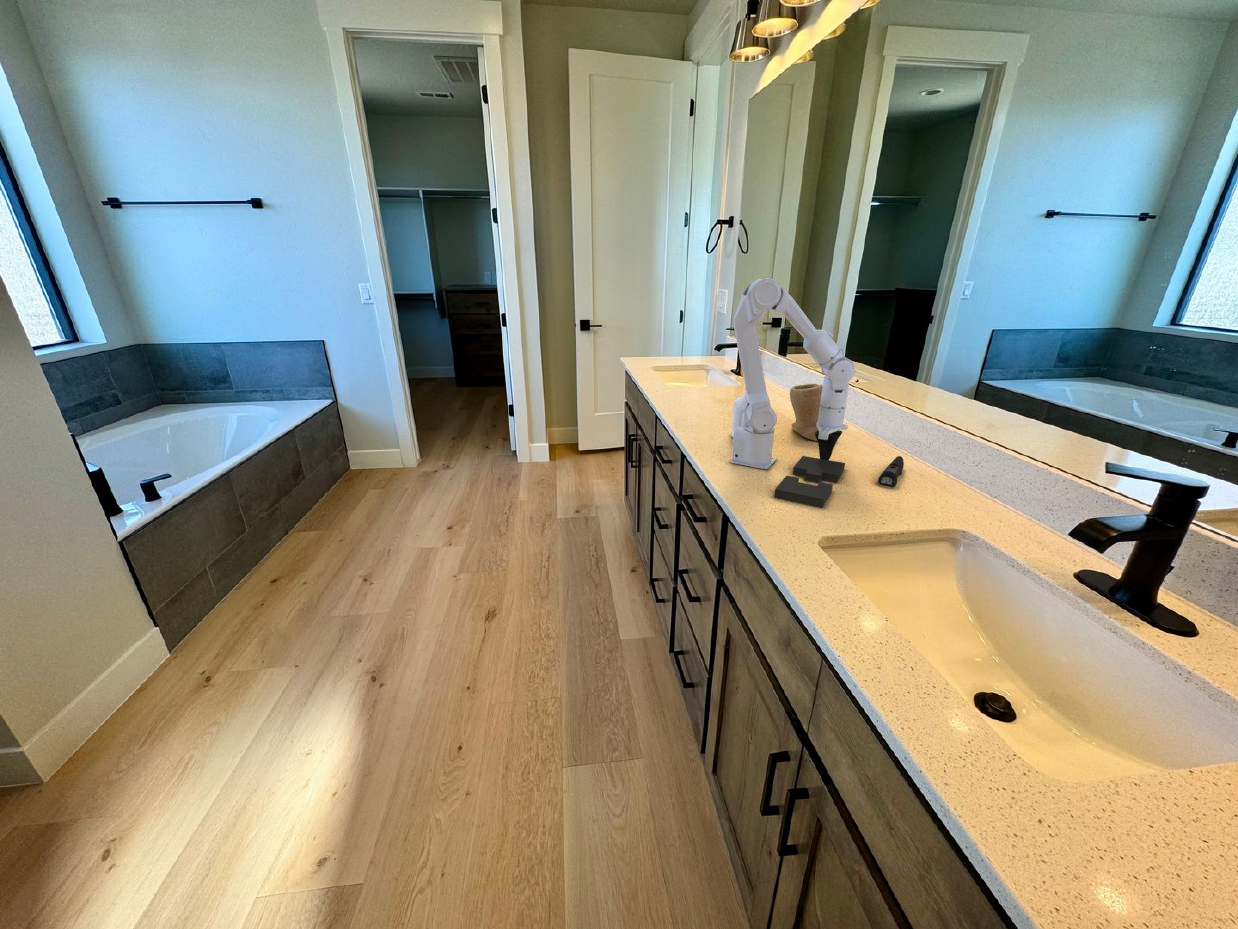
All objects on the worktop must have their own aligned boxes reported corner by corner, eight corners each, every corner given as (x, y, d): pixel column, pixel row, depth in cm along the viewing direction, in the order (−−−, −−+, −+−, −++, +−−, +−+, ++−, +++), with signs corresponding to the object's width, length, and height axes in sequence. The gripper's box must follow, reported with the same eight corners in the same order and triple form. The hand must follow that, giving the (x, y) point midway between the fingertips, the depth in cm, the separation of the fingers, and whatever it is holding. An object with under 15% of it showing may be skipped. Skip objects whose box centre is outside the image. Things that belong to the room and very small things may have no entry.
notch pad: (774, 497, 106) (775, 489, 105) (785, 483, 113) (786, 475, 112) (822, 508, 101) (824, 499, 100) (831, 492, 108) (832, 484, 107)
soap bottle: (766, 441, 141) (775, 354, 132) (734, 442, 141) (741, 355, 132) (758, 432, 149) (766, 350, 140) (728, 432, 149) (734, 350, 140)
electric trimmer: (906, 468, 120) (909, 456, 119) (894, 489, 109) (897, 475, 108) (889, 465, 123) (892, 453, 122) (876, 485, 111) (878, 472, 110)
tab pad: (789, 477, 116) (790, 470, 115) (801, 463, 125) (802, 455, 124) (834, 486, 111) (836, 478, 110) (844, 470, 120) (845, 462, 119)
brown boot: (780, 427, 153) (786, 379, 148) (819, 427, 153) (825, 379, 147) (796, 443, 139) (802, 391, 133) (838, 443, 139) (846, 390, 133)
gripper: (845, 415, 110) (836, 471, 115) (855, 401, 122) (846, 453, 127) (812, 411, 114) (805, 465, 119) (825, 398, 125) (818, 448, 130)
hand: (824, 459), depth 123 cm, fingers closed
